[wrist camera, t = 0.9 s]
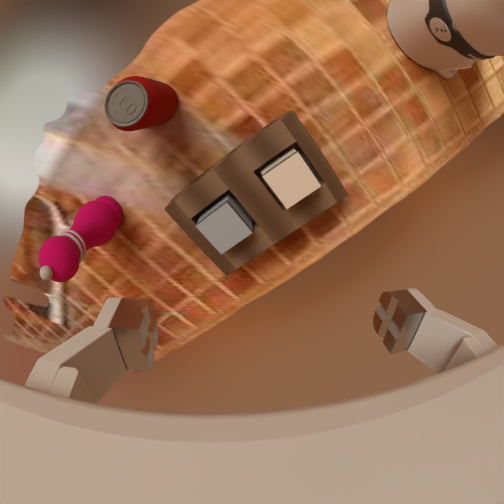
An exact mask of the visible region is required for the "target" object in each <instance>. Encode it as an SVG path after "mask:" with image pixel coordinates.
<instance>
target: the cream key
mask: <svg viewBox="0 0 504 504" xmlns="http://www.w3.org/2000/svg"><path fill="white" fill-rule="evenodd" d="M261 173H262V177H263V179H264V180H265V181H266V183H267V184H268V185H269V186H270V188H271V189H272V190H273V192H274V193H275V194H276V196H277V197H278V198H279V200H280V201H281V202H282V204H283V205H284V206H285V208H286V209H288V208H290V207H291V206H293V205H294V204H296V203H297V202H298V201H300V200H301V199H303V198H304V197H306V196H307V195H309V194H310V193H312V192H313V191H315V190H316V189H318V188H319V187H321V185H320V183H319V182H318V180H317V179H316V177H315V176H314V174H313V173H312V171H311V170H310V168H309V167H308V165H307V164H306V162H305V161H304V160H303V158H302V157H301V155H300V154H299V152H298V151H296V150H295V149H294V148H292V147H291V148H289V149H288V150H287V151H285V152H284V153H282V154H281V155H279V156H278V157H276V158H275V159H273V160H272V161H271V162H269V163H268V164H266V165H265V166H264V167H262V168H261Z"/></svg>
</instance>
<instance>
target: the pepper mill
mask: <svg viewBox="0 0 504 504" xmlns="http://www.w3.org/2000/svg"><path fill="white" fill-rule="evenodd" d="M121 221H122V209H121V207H120V205H119V203H118V202H117V201H116V200H115V199H113V198H111V197H109V196H102V197H99V198H98V199H96V200H95V201H90V202H88V203H86V204H84V205H83V206H82V207H81V208H80V210H79V211H78V213H77V215H76V217H75V220H74V223H73V225H72V227H71V228H70V229H69V230H64V231H62V232H61V233H60V234H59V235H57V236H53V237H51V238H49V239H48V240H46V241H45V242H44V244H43V245H42V247H41V249H40V252H39V263H40V267H41V269H40V276H41V278H42V279H43V280H49V279H51V280H53V281H56V282H66V281H68V280H70V279H71V278H72V277H73V276H74V275H75V274H76V272H77V271H78V268H79V263H80V262H81V261H82V260H83V259H84V258H85V255H86V251H87V250H88V249H89V248H91V247H95V246H100V245H102V244H105V243H106V242H108V241H109V240H110V239H111V238H112V237H113V235H114V233H115V231H116V228H117V227H118V226H119V225H120V223H121Z"/></svg>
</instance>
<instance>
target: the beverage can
mask: <svg viewBox="0 0 504 504" xmlns="http://www.w3.org/2000/svg"><path fill="white" fill-rule="evenodd" d="M177 104H178V99H177V95H176V93H175V91H174V90H173V88H172V87H170V86H169V85H167V84H165V83H162V82H159V81H156V80H152V79H148V78H144V77H139V76H131V77H127V78H125V79H123V80H121V81H119V82H118V83H117V84H116V85H115V86H114V87H113V88H112V89H111V90H110V91H109V93H108V95H107V97H106V100H105V113H106V116H107V118H108V119H109V121H110V122H111V123H112V124H113V125H114V126H115V127H116V128H118V129H120V130H123V131H134V130H139V129H144V128H148V127H153V126H157V125H161V124H163V123H165V122H167V121H168V120H169V119H170V118H171V117H172V116H173V115H174V113H175V111H176V109H177Z"/></svg>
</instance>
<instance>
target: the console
mask: <svg viewBox="0 0 504 504" xmlns="http://www.w3.org/2000/svg"><path fill="white" fill-rule="evenodd" d="M291 147H292V148H294V149H295V150H296V151H298V152H299V154H300V155H301V157H302V158H303V160H304V161H305V162H306V164H307V165H308V167H309V168H310V170H311V171H312V173H313V174H314V176H315V177H316V179H317V180H318V182H319V183H320V185H321V187H319V188H318V189H316V190H315V191H313V192H312V193H310V194H309V195H307V196H306V197H304V198H303V199H301V200H300V201H298V202H297V203H296V204H294V205H293V206H291V207H290V208H288V209H286V208H285V206H284V205H283V204H282V202H281V201H280V200H279V198H278V197H277V196H276V194H275V193H274V192H273V190H272V189H271V188H270V186H269V185H268V184H267V183H266V181H265V180H264V179H263V177H262V173H261V168H262V167H264V166H265V165H266V164H268V163H269V162H271V161H272V160H273V159H275V158H276V157H278V156H279V155H281V154H282V153H284V152H285V151H287V150H288V149H289V148H291ZM228 192H230V193H231V194H232V196H233V197H234V198H235V199H236V200H237V202H238V203H239V204H240V205H241V207H242V208H243V209H244V210H245V211H246V213H247V214H248V215H249V216H250V217H251V219H252V230H253V233H252V234H250V235H249V236H247V237H246V238H244V239H243V240H242V241H240V242H239V243H237V244H236V245H234V246H233V247H231V248H230V249H229V250H227V251H226V252H224V253H223V254H220V253H219V251H218V250H217V249H216V248H215V247H214V246H213V245H212V244H211V243H210V242H209V241H208V239H207V238H206V237H205V236H204V235H203V234H202V233H201V232H200V231H199V230H198V229H197V227H196V224H197V222H198V219H199V217H200V215H201V213H202V212H203V211H204V210H206V209H207V208H208V207H210V206H211V205H212V204H213V203H215V202H216V201H217V200H219V199H220V198H221V197H223V196H224V195H225V194H227V193H228ZM346 196H348V194H347V192H346V190H345V189H344V187H343V185H342V184H341V182H340V181H339V179H338V177H337V176H336V174H335V172H334V171H333V169H332V168H331V166H330V164H329V163H328V161H327V160H326V158H325V157H324V155H323V154H322V152H321V151H320V149H319V148H318V146H317V145H316V143H315V142H314V140H313V139H312V137H311V136H310V134H309V133H308V131H307V130H306V129H305V127H304V126H303V124H302V123H301V122H300V120H299V119H298V117H297V116H296V115H295V113H294V112H293V111H288V112H286V113H285V114H283V115H282V116H280V117H279V118H277V119H276V120H274V121H273V122H271V123H270V124H268V125H267V126H265V127H264V128H263V129H261V130H260V131H258V132H257V133H255V134H254V135H253V136H251V137H250V138H249V139H247V140H246V141H244V142H243V143H242V144H240V145H239V146H238V147H236V148H235V149H234V150H232V151H231V152H230V153H228V154H227V155H226V156H224V157H223V158H222V159H220V160H219V161H218V162H217V163H215V164H214V165H213V166H211V167H210V168H209V169H208V170H206V171H205V172H204V173H203V174H201V175H200V176H199V177H198V178H197V179H195V180H194V181H193V182H192V183H190V184H189V185H188V186H187V187H186V188H184V189H183V190H182V191H181V192H180V193H178V194H177V195H176V196H175V197H174V198H173V199H172V200H171V201H170V203H169V204H168V205H167V207H166V208H165V211H166V212H167V213H168V214H169V215H170V216H171V217H172V218H173V219H174V220H175V221H176V223H177V224H178V225H179V226H180V227H181V228H182V229H183V230H184V231H185V232H186V233H187V235H188V236H189V237H190V238H191V239H192V240H193V241H194V242H195V243H196V244H197V245H198V246H199V247H200V248H201V249H202V251H203V252H204V253H205V254H206V255H207V256H208V257H209V258H210V259H211V260H212V261H213V262H214V263H215V264H216V265H217V266H218V267H219V268H220V269H221V271H222V272H223V273H224V274H225V275H226V276H227V275H228V274H230V273H231V272H233V271H235V270H236V269H238V268H239V267H241V266H242V265H244V264H245V263H247V262H248V261H250V260H251V259H253V258H254V257H256V256H257V255H259V254H260V253H262V252H263V251H265V250H266V249H268V248H269V247H271V246H272V245H274V244H275V243H277V242H279V241H280V240H282V239H283V238H285V237H286V236H288V235H289V234H291V233H292V232H294V231H295V230H297V229H298V228H300V227H301V226H303V225H304V224H306V223H307V222H309V221H310V220H312V219H313V218H315V217H316V216H318V215H319V214H321V213H322V212H324V211H325V210H327V209H328V208H330V207H331V206H333V205H334V204H336V203H337V202H339V201H340V200H342V199H343V198H345V197H346Z"/></svg>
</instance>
